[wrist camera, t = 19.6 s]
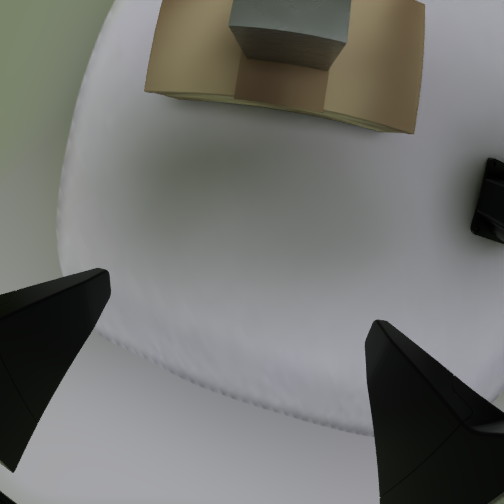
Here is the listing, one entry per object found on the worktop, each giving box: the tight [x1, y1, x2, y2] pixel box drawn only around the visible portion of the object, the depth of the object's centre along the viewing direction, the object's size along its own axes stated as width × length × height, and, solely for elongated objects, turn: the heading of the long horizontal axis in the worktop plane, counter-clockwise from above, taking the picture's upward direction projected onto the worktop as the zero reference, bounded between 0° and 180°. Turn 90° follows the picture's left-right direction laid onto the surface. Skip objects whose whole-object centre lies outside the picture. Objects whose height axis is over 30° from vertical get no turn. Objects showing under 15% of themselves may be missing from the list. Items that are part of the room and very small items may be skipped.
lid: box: [144, 0, 425, 134], centre depth 12 cm, size 14×9×1 cm, turn 82°
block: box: [228, 0, 351, 71], centre depth 9 cm, size 4×4×5 cm
